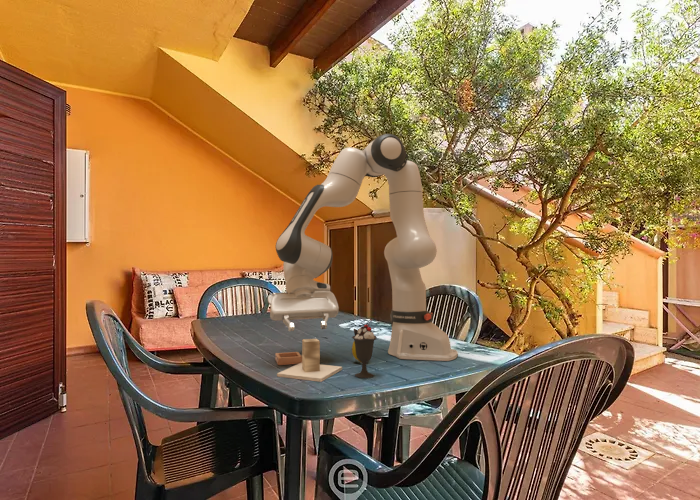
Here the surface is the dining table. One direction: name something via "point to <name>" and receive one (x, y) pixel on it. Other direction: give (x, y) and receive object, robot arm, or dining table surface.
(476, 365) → the dining table surface
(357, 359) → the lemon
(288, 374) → the tile
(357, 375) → the sundae
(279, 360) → the sleeve holder
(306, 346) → the birch post
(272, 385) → the dining table surface
